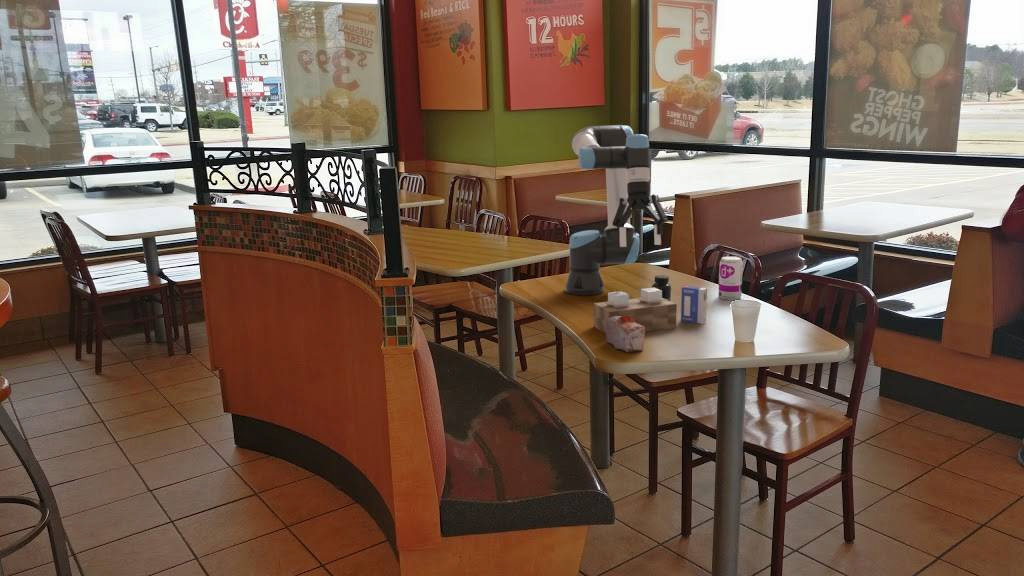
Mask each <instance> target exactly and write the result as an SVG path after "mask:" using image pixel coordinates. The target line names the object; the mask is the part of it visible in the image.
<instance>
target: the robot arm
mask: <svg viewBox="0 0 1024 576" xmlns="http://www.w3.org/2000/svg"><path fill="white" fill-rule="evenodd" d="M649 141H650V139H649V136H648V135H646V134H642V133H641V134H640V133H637V134H634V131H633V129H632V127H630V125H623V124H615V125H590V126H586V127H583V128H581V129H579V130H578V131H577V132H575V133H574V135H572V138H571V143H570V144H571V145H570V146H571V148H572V150H573V152H574V153H575V154H576V155H577V156H578V158H577V159H578V160H577V161H578V167H579V168H580V169H582V170H589V171H590V170H601V169H603V170H605V180H606V181H605V183H606V184H605V185H606V206H607V208H606V209H607V226H606V227H605V228H604V231H603V232H604V233H603V234H601V233H600V231H599V230H597V229H590V230H582V231H581V230H580V231H579V232H575V233H573V234H571V236H570V237H569V246H568V249H569V273H568V275H567V278H566V281H565V285H564V291H566V292H567V293H566V292H565V293H566V294H569V293H570V294H569V295H574V296H596V295H600V294H602V293H604V292H605V284H604V281H603V278H602V275H601V272H600V269H601V268H600V265H628V264H633V263H635V262H636V261H637V259H638V256H639V252H640V243H641V242H640V234H639V233H638V232H635V227H634V226H633V225H632V224H631V216H632V214H633V213H634V212H635V211H640V210H643V211H644V210H645V212H647V214H648V215H649V216H650V218H651V219H652V220H653V222H654V223H655V224H654V225H653V233H654V234H653V237H654V245H655V246H656V245H657V246H658V245H659V246H661V245H662V237H661V235H663V231H664V230H663V225H664V224H665V223H667V222H668V221H669V219H668V216H667V215H666V213H665V210H664V208H663V206H662V204H661V202H660V197H659V195H658V194H652V195H650V193H651V183H650V180H651V174H650V173H651V172H650V143H649ZM650 202H651V203H652V205H653V207H652V205H651V204H650Z"/></svg>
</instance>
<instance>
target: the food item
mask: <svg viewBox="0 0 1024 576" xmlns="http://www.w3.org/2000/svg"><path fill="white" fill-rule="evenodd" d="M606 322H607V323H606V334H605V342H606V343H608V344H611V345H612V346H613V347H614V349H617V350H622V351H625V352H626V353H634V352H633V351H636V352H642V351H644V344H645V339H646V337H645V335H646V332H645V326H642V325H639V324H637V323H635V322H634V319H633V318H632V317H631V316H629V317H628V316H625V315H624V316H623V317H622V316H614V317H611V318H608V319H607V320H606Z"/></svg>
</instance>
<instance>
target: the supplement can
mask: <svg viewBox="0 0 1024 576" xmlns="http://www.w3.org/2000/svg"><path fill="white" fill-rule="evenodd" d="M743 265H744V262H743V260H742V258H741V257H739V256H735V255H734V256H732V255H731V256H721V258H720V261H719V273H718V274H719V275H718V276H719V277H718V294H717V295H718V297H719V298H720V299H721V298H722V299H721V300H726V299H727V300H728V301H736V300H739V299H740V298H741V297H742V290H743V287H742V286H743V267H744V266H743Z"/></svg>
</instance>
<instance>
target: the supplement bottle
mask: <svg viewBox="0 0 1024 576" xmlns="http://www.w3.org/2000/svg"><path fill="white" fill-rule="evenodd" d="M669 280H670V279H669V276H667V275H662V274H659V275H655V276H654V280H653V281H654V282H655V283H653V284H652V285H651V288H657V289H659V290H661V291H662V298H664V299H666V300H669V301H671V300H672V285H671V284H670V283H669V282H670V281H669ZM671 302H672V301H671Z"/></svg>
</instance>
